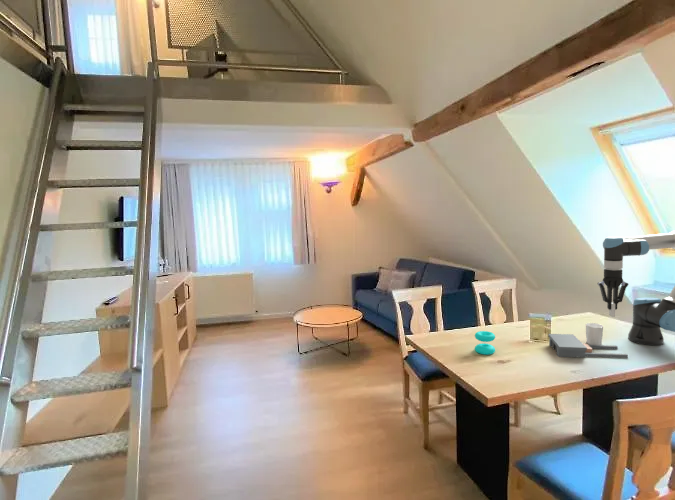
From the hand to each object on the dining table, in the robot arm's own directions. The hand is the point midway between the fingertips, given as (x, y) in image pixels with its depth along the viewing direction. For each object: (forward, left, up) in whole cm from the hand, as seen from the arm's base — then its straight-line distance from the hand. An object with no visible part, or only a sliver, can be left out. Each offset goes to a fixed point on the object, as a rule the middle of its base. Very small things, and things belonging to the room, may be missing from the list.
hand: (612, 315), depth 203 cm
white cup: (+3, -13, -19) cm, 23 cm away
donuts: (+60, +5, -19) cm, 63 cm away
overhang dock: (+11, 0, -19) cm, 22 cm away
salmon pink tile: (+17, 0, -19) cm, 25 cm away
